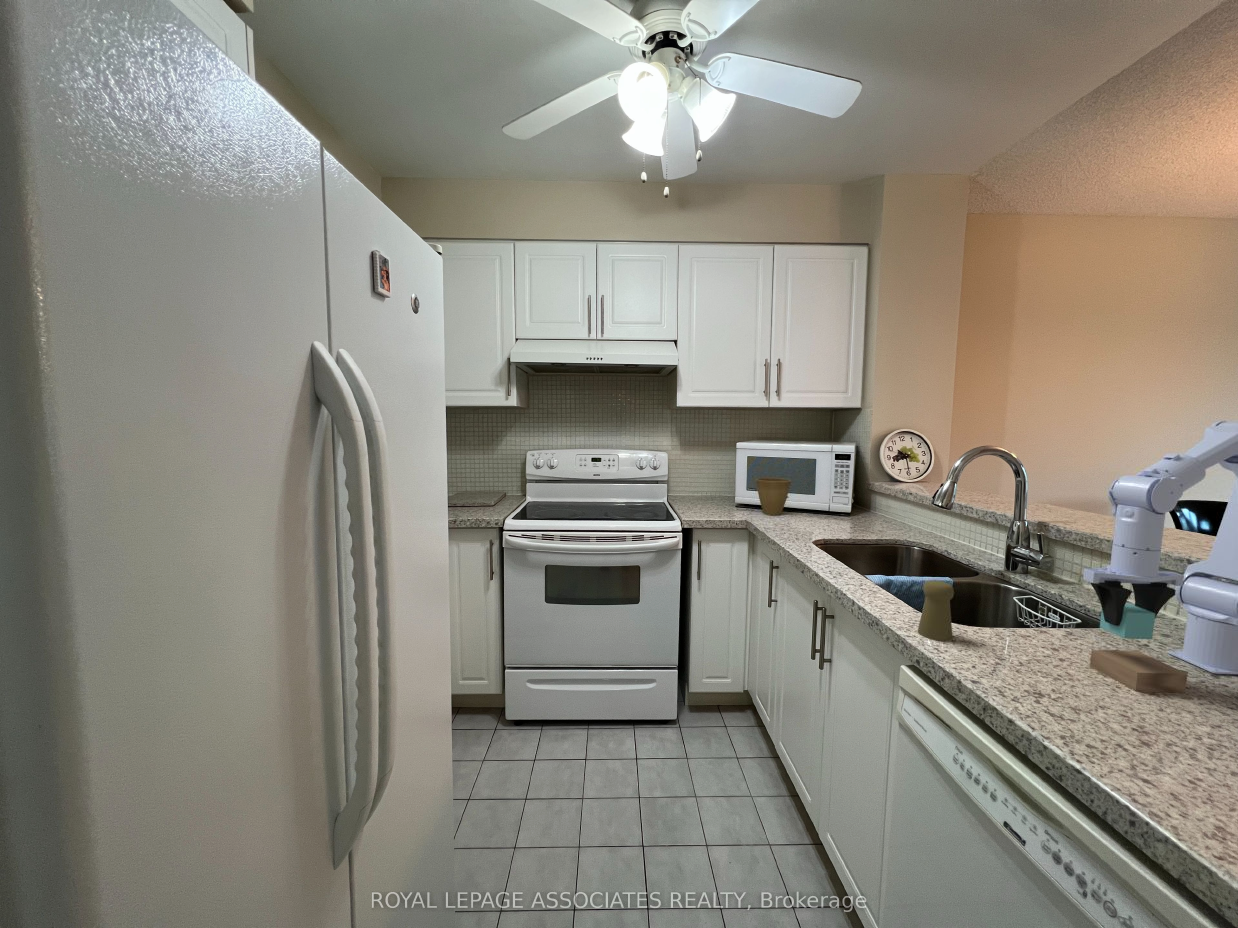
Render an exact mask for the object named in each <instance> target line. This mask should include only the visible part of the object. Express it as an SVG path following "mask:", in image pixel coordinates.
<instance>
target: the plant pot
mask: <svg viewBox="0 0 1238 928" xmlns="http://www.w3.org/2000/svg"><path fill="white" fill-rule="evenodd" d="M791 482H792V481H791V479H788V478H777V477H761V478H760V477H759V478H756V489H757V494H758V497H759V498H758V499H759V501H760V506H761V509H762V513H763V514H764V515H765V516H766V515H767V516H780V515H782V512H783V510H784V508H785V505H786V502H787V498H788V495H789V491H790V485H791Z"/></svg>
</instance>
